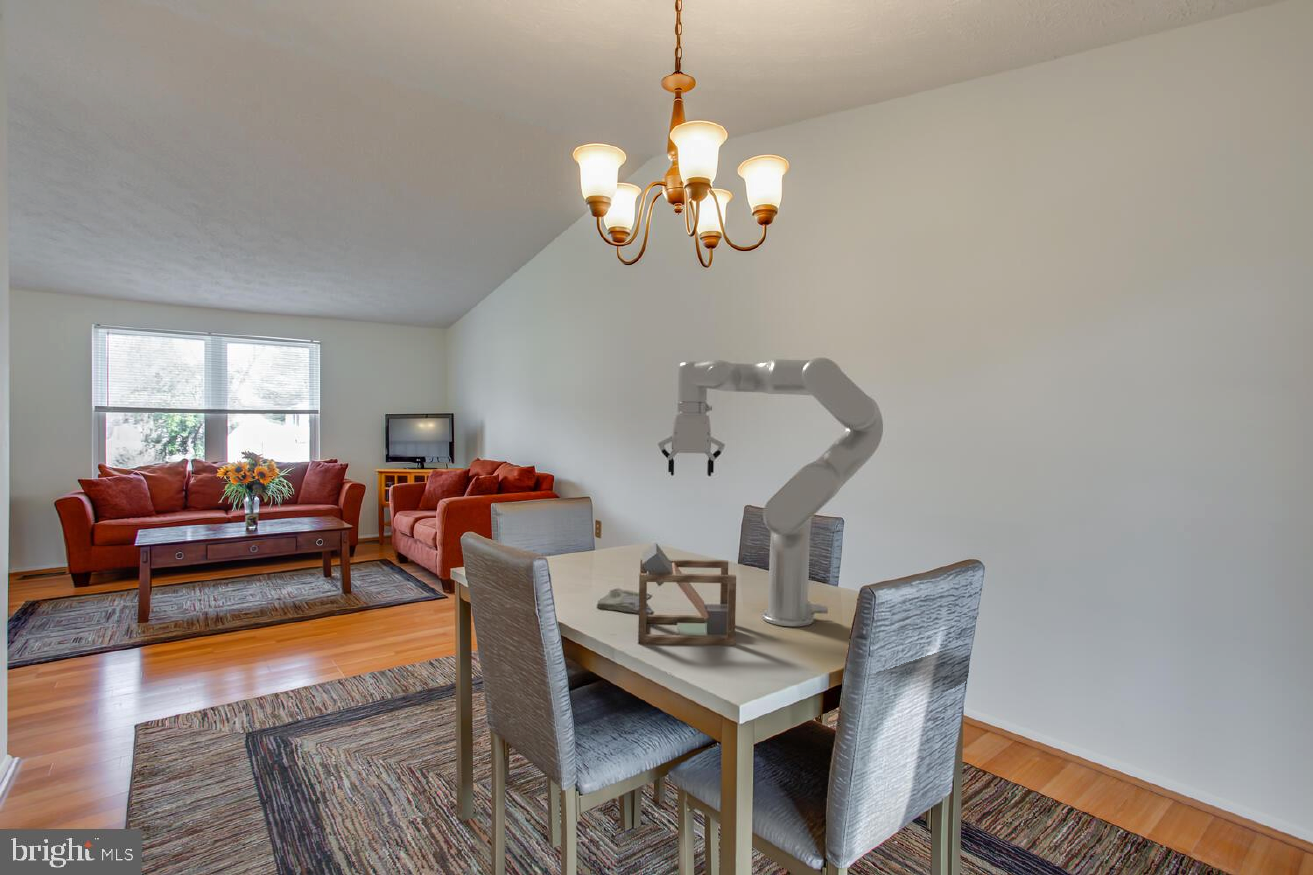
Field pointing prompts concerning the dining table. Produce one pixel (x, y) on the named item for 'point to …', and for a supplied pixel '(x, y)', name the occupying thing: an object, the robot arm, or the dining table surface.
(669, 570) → the trapdoor
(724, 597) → the stand
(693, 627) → the mat
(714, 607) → the grey block
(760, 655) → the dining table surface
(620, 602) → the fossil rock
